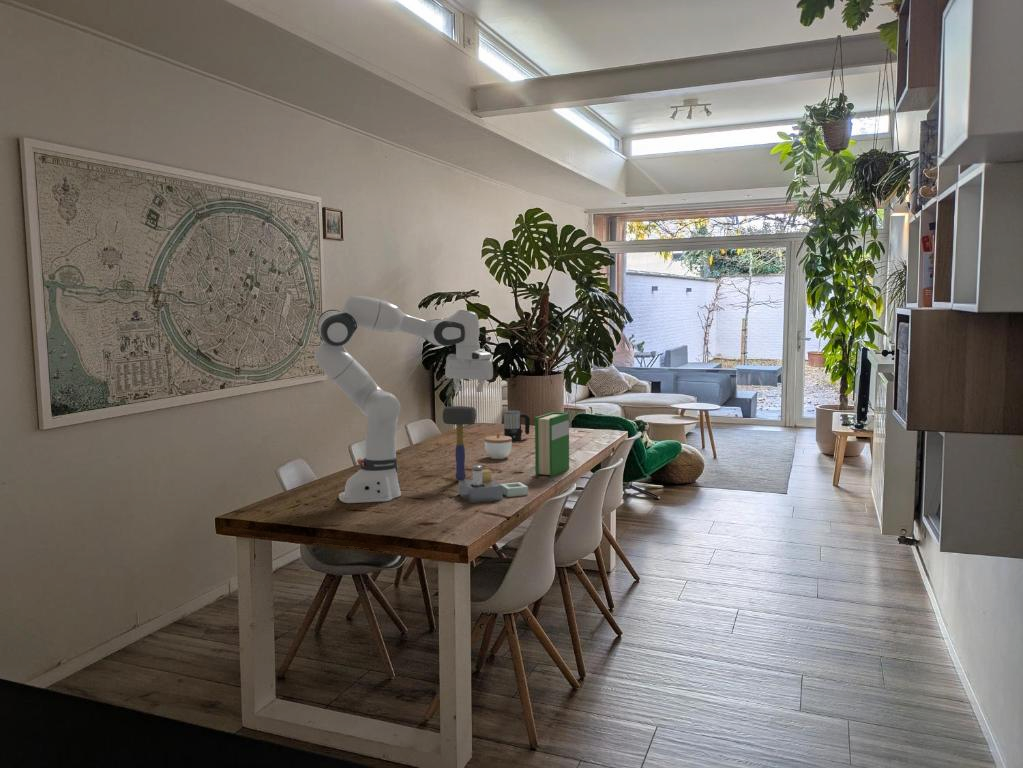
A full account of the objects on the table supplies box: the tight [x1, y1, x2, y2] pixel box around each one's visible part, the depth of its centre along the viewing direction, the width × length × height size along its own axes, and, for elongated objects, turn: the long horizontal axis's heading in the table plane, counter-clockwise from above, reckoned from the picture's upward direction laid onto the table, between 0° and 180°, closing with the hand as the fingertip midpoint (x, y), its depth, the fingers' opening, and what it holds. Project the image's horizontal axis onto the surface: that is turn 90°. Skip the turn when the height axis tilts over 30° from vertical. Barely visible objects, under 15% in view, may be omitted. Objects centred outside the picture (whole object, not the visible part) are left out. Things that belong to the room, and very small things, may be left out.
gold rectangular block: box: [482, 468, 493, 482], centre depth 285 cm, size 4×4×6 cm
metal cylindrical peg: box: [472, 464, 483, 487], centre depth 276 cm, size 4×4×12 cm
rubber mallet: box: [442, 405, 477, 482], centre depth 305 cm, size 12×8×30 cm, turn 77°
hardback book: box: [534, 411, 570, 478], centre depth 320 cm, size 18×7×24 cm, turn 153°
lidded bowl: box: [484, 433, 513, 460], centre depth 353 cm, size 13×13×11 cm
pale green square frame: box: [499, 481, 529, 498], centre depth 285 cm, size 8×8×3 cm
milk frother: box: [502, 410, 531, 442], centre depth 405 cm, size 14×16×15 cm
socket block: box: [458, 479, 504, 504], centre depth 280 cm, size 12×14×5 cm
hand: (469, 391), depth 287 cm, fingers open, 8 cm apart
